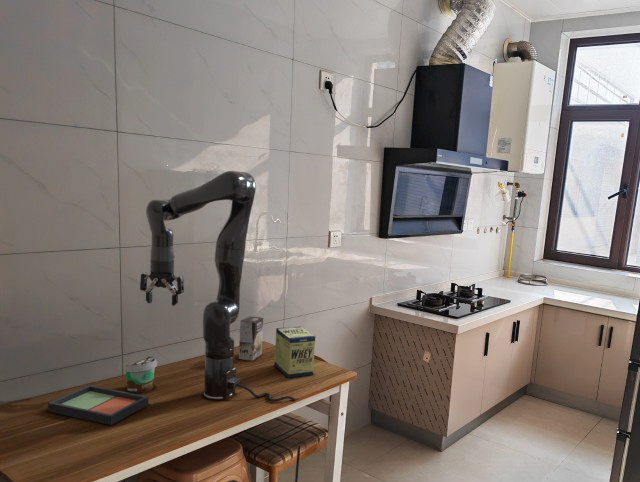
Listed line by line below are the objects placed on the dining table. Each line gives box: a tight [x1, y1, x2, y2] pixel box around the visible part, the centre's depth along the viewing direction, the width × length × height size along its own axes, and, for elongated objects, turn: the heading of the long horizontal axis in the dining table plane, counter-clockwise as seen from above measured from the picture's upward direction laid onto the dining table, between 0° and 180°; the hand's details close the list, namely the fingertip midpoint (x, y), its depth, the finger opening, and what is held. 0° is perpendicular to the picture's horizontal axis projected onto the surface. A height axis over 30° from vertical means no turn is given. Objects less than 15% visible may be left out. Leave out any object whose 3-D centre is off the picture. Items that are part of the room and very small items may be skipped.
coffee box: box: [238, 315, 264, 362], centre depth 225 cm, size 9×6×16 cm
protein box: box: [273, 326, 316, 379], centre depth 215 cm, size 10×16×16 cm
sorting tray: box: [47, 384, 149, 426], centre depth 169 cm, size 22×16×3 cm
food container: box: [124, 354, 158, 394], centre depth 185 cm, size 12×6×10 cm, turn 168°
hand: (162, 304), depth 191 cm, fingers open, 8 cm apart
